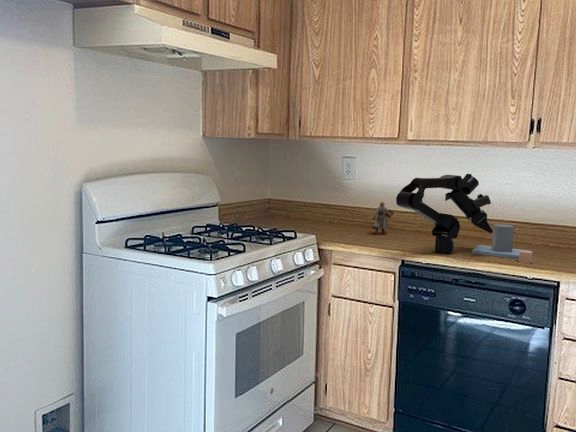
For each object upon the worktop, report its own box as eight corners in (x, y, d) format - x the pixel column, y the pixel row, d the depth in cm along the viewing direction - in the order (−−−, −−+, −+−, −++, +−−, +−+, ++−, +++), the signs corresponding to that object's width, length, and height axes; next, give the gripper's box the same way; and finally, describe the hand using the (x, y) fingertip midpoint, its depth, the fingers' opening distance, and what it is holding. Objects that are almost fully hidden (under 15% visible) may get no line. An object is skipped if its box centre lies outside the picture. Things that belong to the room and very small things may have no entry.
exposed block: (518, 262, 206) (519, 252, 205) (520, 260, 209) (521, 250, 209) (530, 264, 204) (531, 253, 203) (531, 262, 207) (532, 251, 207)
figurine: (391, 232, 267) (392, 200, 265) (399, 234, 261) (401, 202, 258) (365, 233, 262) (366, 201, 260) (373, 235, 255) (374, 203, 253)
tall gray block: (495, 251, 219) (497, 226, 217) (491, 248, 225) (493, 224, 224) (512, 252, 218) (514, 227, 217) (508, 249, 224) (510, 224, 223)
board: (472, 253, 220) (472, 250, 220) (478, 247, 232) (478, 244, 232) (526, 259, 211) (526, 256, 211) (530, 253, 223) (530, 250, 223)
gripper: (483, 189, 210) (511, 220, 210) (475, 186, 228) (501, 214, 228) (459, 209, 213) (487, 239, 212) (454, 204, 231) (479, 232, 230)
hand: (489, 230), depth 221 cm, fingers open, 9 cm apart
